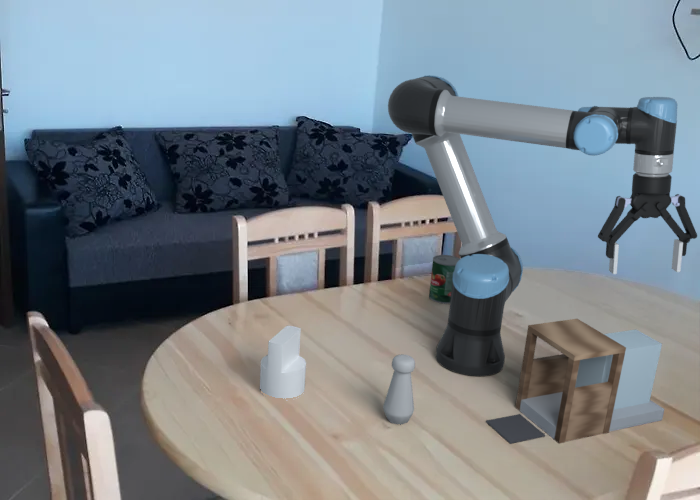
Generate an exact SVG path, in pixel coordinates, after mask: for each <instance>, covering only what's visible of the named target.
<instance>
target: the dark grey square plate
mask: <svg viewBox="0 0 700 500" xmlns="http://www.w3.org/2000/svg"><path fill="white" fill-rule="evenodd" d="M485 423H486V424H487V425H489V426H490V428H492V429H493V430H494V431H495V432H496V433H497V434H498V435H500V436H501V437H502V439H504V440H505V441H506V442H508V444H510V445H512V444H516V443H522V442H525V441H531V440H535V439H540V438H544V437H546V434H545V433H543V431H541V430H540V428H537V426H535V425H534V424H533V423H531V422H530V421H529V419H528V418H526V417H525V416H523V415H522V414H521V413H518V414H517V413H516V414H511V415H508V416H502V417H495V418H492V419H491V418H490V419H486V420H485Z"/></svg>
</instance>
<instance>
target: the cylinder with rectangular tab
mask: <svg viewBox="0 0 700 500" xmlns="http://www.w3.org/2000/svg"><path fill="white" fill-rule="evenodd" d="M301 330H302V328H301V327H298V326H294V325H293V326H292V325H286V326H285V327H283V328H282V329H281V330H279V332H278V333H277V334H275V335H273V337H272V338H271V339H269V341H268V348H267V349H268V350H267V354H266V355H264V356H263V357H262V358H261V360H260V375H259V390H260V389H261V391H262V392H263V393H265V394H267V395H269V396H272V397H275V398H283V399H284V398H285V399H286V398H293V397H297V396H299V395H301V394H302V393H303V392H304V393H305V391H304V390H305V389H306V388H305V387H306V371H307V360H306V359H305V358H304V357H302V356H301V355H300V349H301V348H300V347H301V346H300V345H301ZM304 393H303V394H304Z"/></svg>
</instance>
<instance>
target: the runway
mask: <svg viewBox="0 0 700 500" xmlns="http://www.w3.org/2000/svg"><path fill="white" fill-rule="evenodd" d="M562 393H563V392H559V393H554V394H548V395H543V396H538V397H532V398H527V399H523V400H521V405H520V411H519V412H520V413H522V414H523V415H524V417H525V418H527V419H528V420H530V421H531V422H532V423H534V424H535V425H536V427H538V428H539V429H541V430H543V431H542V432H545V433H546V434H547V435H548V436H550V437H551V438H552V439H553V440H554V438H555V432H556V426H557V421H558V415H559V410H560V404H561V399H562ZM664 412H665V408H663V407H662V406H660V405H659V404H658V403H656V402H654V401H653V400H651V399H650V401H649V403H644V404H639V405H634V406H629V407H624V408H619V409H614V410H613V415H612V420H611V424H610V429H609V433H610V432H613V431H614V432H615V431H618V430H624V429H628V428H632V427H637V426H641V425H646V424H651V423H656V422H659V421H660V422H661V421H663V418H664Z"/></svg>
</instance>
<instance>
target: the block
mask: <svg viewBox="0 0 700 500" xmlns="http://www.w3.org/2000/svg"><path fill="white" fill-rule="evenodd" d="M603 334H604V335H606V336H607V337H609V338H611V339H613V340H614V341H616V342H618V343H619V344H621V345H623V346H624V347H626V351H625V356H624V361H623V366H622V371H621V375H620V380H619V385H618V390H617V395H616V400H615V405H614V409H619V408H624V407H629V406H634V405H639V404H644V403H649V401H650V400H651V395H652V392H653V387H654V383H655V377H656V373H657V368H658V363H659V360H660V355H661V352H662V346H663V343H661V342H659V341H658V340H657V339H654V338H652V337H651V336H649V335H647V334H645V333H643V332H642V331H640V330H639V329H637V328H636V329H630V330H622V331H616V332H609V333H603ZM612 358H613V355H607V356H601V357H595V358H588V359H582V360H580V363H579V369H578V374H577V380H576V385H575V388H576V387H582V386H587V385H593V384H598V383H604V382H608V378H609V373H610V368H611V363H612Z"/></svg>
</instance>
